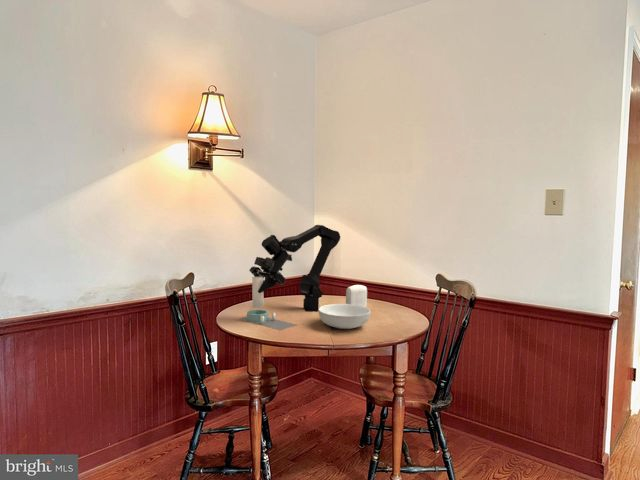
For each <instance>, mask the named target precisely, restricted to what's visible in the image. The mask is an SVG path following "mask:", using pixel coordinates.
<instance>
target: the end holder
mask: <svg viewBox="0 0 640 480" xmlns="http://www.w3.org/2000/svg"><path fill="white" fill-rule="evenodd" d="M261 316H264V321H267V320H268V317H269V311H268V310H265V309H250V310H248V311H246V317H247V320H248V321H250V322H249V323H251V322H261Z"/></svg>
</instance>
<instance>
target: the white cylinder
mask: <svg viewBox="0 0 640 480" xmlns="http://www.w3.org/2000/svg"><path fill="white" fill-rule="evenodd" d="M264 280H265V277H260V276H257V277H254V276H253V277H252V282H251V283H252V285H251V288H252V290H251V293H252V303H251V304H252V308H257V309H259V308H264V291H263V292H261V293H259V292H258V290H259V288H260V287H261V285H262V284H263V282H264Z"/></svg>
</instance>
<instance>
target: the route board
mask: <svg viewBox="0 0 640 480" xmlns="http://www.w3.org/2000/svg"><path fill="white" fill-rule="evenodd" d="M239 320H240V321H244V322H247V323H252V324H255V325H259V326H262V327H265V328H271V329H273V330H277V331H284V330H286V329H289V328H292V327H296V326H297V323H296V324H295V323H292V322H287V321H285V320H280V319H278V318H277V319H276V312H271V317H269V316H268V320H267V321H264V316H261V322H250V321H248V320H247V316H246V317H242V318H240V319H239Z"/></svg>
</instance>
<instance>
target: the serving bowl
mask: <svg viewBox="0 0 640 480" xmlns="http://www.w3.org/2000/svg"><path fill="white" fill-rule="evenodd" d="M317 312H318V316H319V318H320V320H321V321H322V322H323V323H324V324H325V325H327V326H329V327H332V328H336V329H341V330H351V329H354V328H355V329H356V328H359V327H362V326H363V325H365V324H366V323H368V321H369V319H370V317H371V310H370V308H368V307H367V306H366V307H363V306H358V305H351V304H346V303H332V304H331V303H330V304H325V305H321V306H319V309H318V311H317Z"/></svg>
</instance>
